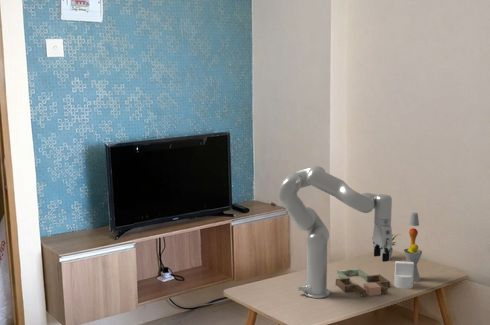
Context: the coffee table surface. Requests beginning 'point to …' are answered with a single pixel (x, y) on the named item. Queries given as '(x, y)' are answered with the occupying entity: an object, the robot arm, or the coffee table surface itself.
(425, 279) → the coffee table surface
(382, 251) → the house plant
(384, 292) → the box
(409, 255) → the lava lamp
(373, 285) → the terracotta block
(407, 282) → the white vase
